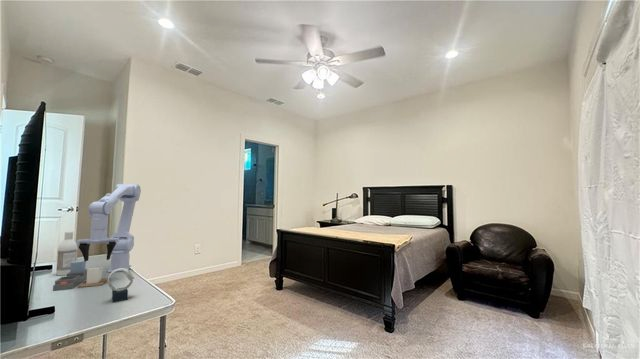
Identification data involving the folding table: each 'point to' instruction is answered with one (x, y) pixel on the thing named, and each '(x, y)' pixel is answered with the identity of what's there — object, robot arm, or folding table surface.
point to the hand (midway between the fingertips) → (97, 260)
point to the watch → (120, 293)
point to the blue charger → (78, 266)
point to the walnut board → (93, 283)
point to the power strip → (70, 281)
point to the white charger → (94, 275)
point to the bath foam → (66, 254)
